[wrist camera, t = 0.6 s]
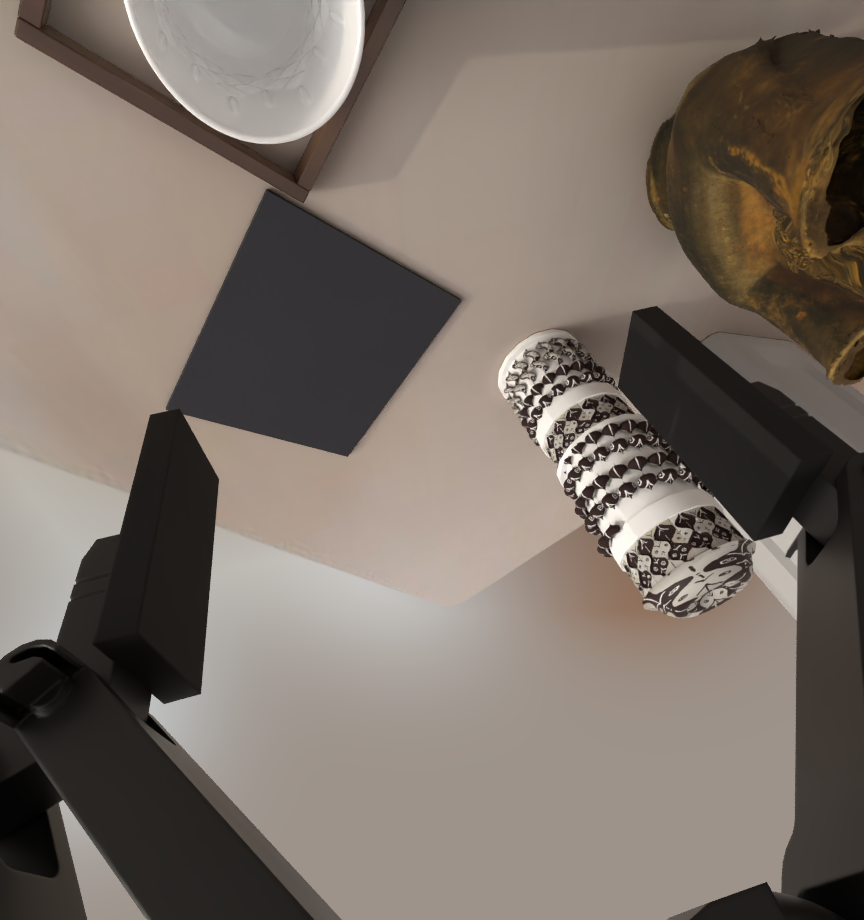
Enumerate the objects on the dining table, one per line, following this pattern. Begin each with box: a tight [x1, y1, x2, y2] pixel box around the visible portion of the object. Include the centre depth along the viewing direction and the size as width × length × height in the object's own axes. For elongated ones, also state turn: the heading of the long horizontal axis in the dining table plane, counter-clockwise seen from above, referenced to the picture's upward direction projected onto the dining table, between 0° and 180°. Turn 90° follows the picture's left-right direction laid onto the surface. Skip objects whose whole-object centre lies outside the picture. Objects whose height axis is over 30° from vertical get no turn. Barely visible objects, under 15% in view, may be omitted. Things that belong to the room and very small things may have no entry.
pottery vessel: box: [646, 29, 864, 386], centre depth 32 cm, size 25×11×20 cm, turn 42°
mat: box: [166, 189, 461, 457], centre depth 39 cm, size 18×16×1 cm
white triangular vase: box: [680, 332, 864, 621], centre depth 50 cm, size 19×15×28 cm
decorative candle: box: [498, 329, 756, 619], centre depth 41 cm, size 9×9×25 cm
